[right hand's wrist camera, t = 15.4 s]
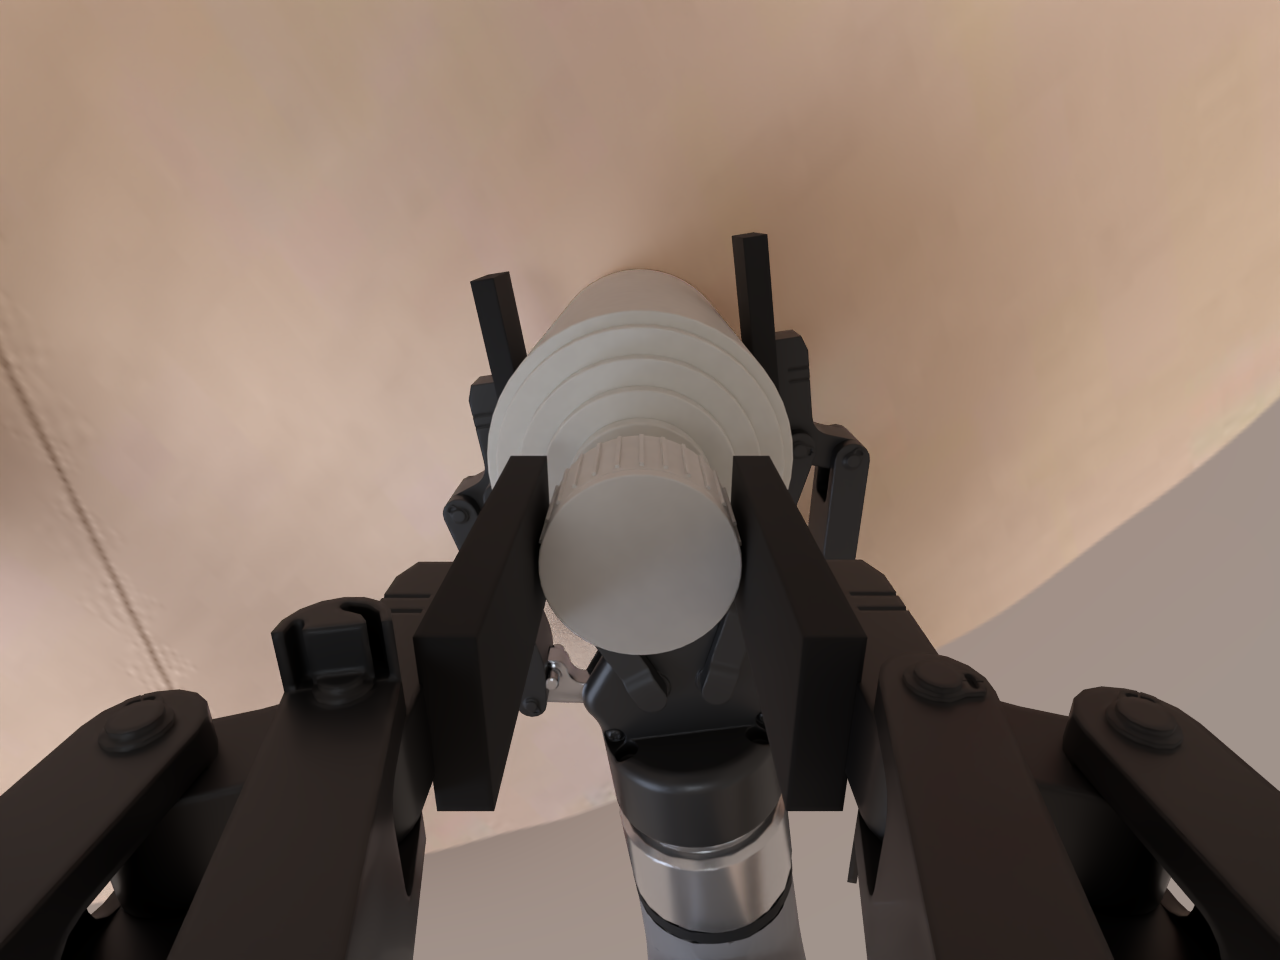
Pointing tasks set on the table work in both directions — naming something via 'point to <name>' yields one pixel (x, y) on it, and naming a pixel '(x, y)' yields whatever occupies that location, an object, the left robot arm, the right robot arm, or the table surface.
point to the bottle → (640, 382)
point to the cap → (640, 547)
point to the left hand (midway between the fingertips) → (618, 256)
